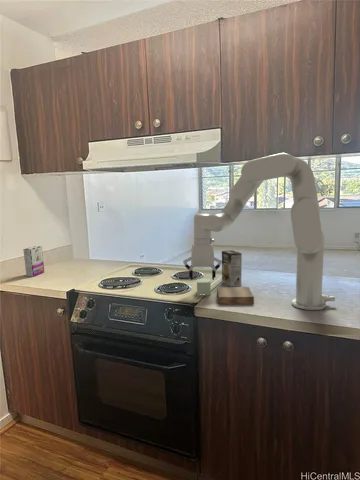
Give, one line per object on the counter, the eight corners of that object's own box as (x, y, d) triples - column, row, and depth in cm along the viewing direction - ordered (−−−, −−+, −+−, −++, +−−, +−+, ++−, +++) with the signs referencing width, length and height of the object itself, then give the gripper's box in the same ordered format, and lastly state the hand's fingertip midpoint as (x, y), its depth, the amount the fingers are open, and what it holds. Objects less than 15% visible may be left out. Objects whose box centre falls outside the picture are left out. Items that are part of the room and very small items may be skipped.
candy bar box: (37, 272, 200) (34, 245, 198) (44, 272, 199) (42, 245, 197) (25, 276, 189) (22, 248, 187) (33, 277, 188) (30, 248, 186)
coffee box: (221, 282, 166) (221, 250, 163) (232, 280, 168) (232, 249, 166) (230, 286, 157) (230, 253, 155) (242, 285, 159) (242, 252, 157)
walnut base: (248, 293, 146) (248, 286, 146) (253, 303, 133) (253, 296, 132) (217, 293, 147) (217, 287, 147) (219, 304, 133) (219, 297, 133)
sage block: (210, 291, 151) (209, 278, 151) (210, 295, 145) (210, 282, 145) (197, 291, 152) (196, 278, 151) (197, 295, 146) (196, 282, 145)
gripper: (221, 240, 149) (221, 276, 151) (183, 240, 149) (183, 276, 152) (222, 242, 141) (222, 281, 144) (182, 242, 142) (182, 281, 145)
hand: (202, 279), depth 148 cm, fingers open, 9 cm apart
